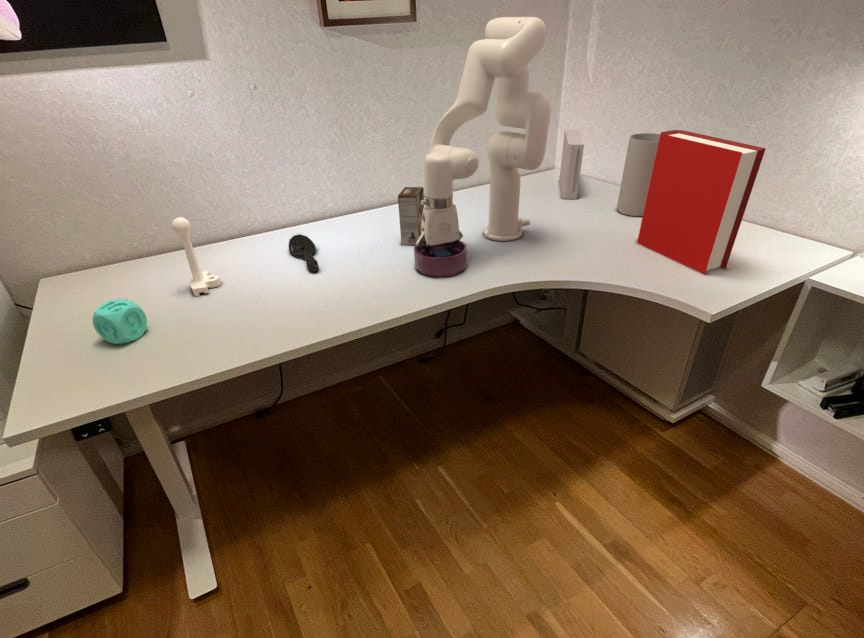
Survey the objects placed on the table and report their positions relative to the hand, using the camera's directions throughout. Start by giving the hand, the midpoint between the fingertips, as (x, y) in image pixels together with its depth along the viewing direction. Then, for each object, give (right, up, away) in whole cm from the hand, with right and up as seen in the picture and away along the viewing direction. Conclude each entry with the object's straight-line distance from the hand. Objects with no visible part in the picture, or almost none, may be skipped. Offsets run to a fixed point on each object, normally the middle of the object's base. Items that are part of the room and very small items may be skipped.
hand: (440, 262), depth 147 cm
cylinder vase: (+71, +25, +34) cm, 83 cm away
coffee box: (-8, +11, +19) cm, 23 cm away
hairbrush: (-42, +3, +9) cm, 43 cm away
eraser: (0, 0, 0) cm, 0 cm away
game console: (+53, +42, +58) cm, 89 cm away
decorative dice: (-77, -23, -26) cm, 84 cm away
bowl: (0, -1, +1) cm, 1 cm away
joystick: (-66, -8, -5) cm, 67 cm away
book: (+71, +3, +3) cm, 71 cm away
